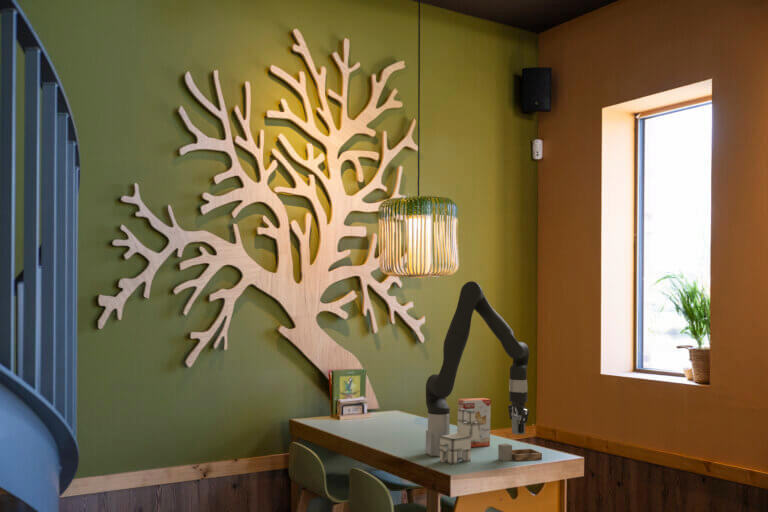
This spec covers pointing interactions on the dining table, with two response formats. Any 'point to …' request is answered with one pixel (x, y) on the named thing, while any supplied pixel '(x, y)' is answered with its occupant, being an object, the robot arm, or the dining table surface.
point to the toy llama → (460, 439)
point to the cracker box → (479, 417)
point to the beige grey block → (505, 452)
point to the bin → (526, 454)
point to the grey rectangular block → (516, 426)
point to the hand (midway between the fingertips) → (518, 431)
